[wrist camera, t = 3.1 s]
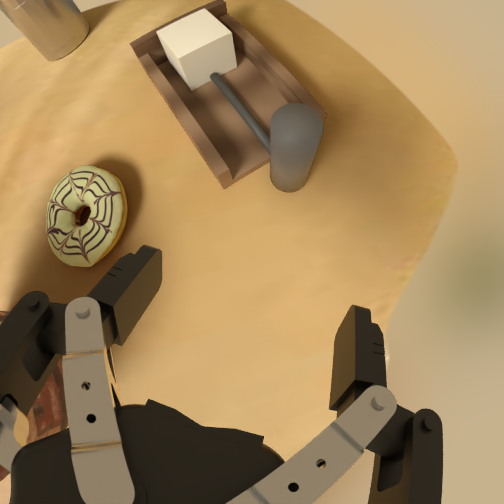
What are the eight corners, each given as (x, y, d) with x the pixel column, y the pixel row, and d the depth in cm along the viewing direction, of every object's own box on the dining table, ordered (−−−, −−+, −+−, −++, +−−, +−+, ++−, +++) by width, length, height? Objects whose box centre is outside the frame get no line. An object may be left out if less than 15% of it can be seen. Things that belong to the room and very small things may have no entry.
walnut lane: (145, 72, 33) (129, 43, 27) (226, 30, 33) (220, -2, 27) (223, 189, 31) (213, 167, 25) (320, 132, 31) (330, 102, 25)
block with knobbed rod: (170, 63, 32) (145, 8, 22) (212, 41, 32) (198, -17, 22) (272, 205, 29) (274, 166, 19) (324, 174, 29) (347, 125, 19)
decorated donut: (46, 244, 31) (27, 240, 28) (82, 163, 32) (65, 152, 28) (108, 283, 30) (89, 282, 27) (148, 190, 31) (134, 179, 27)
